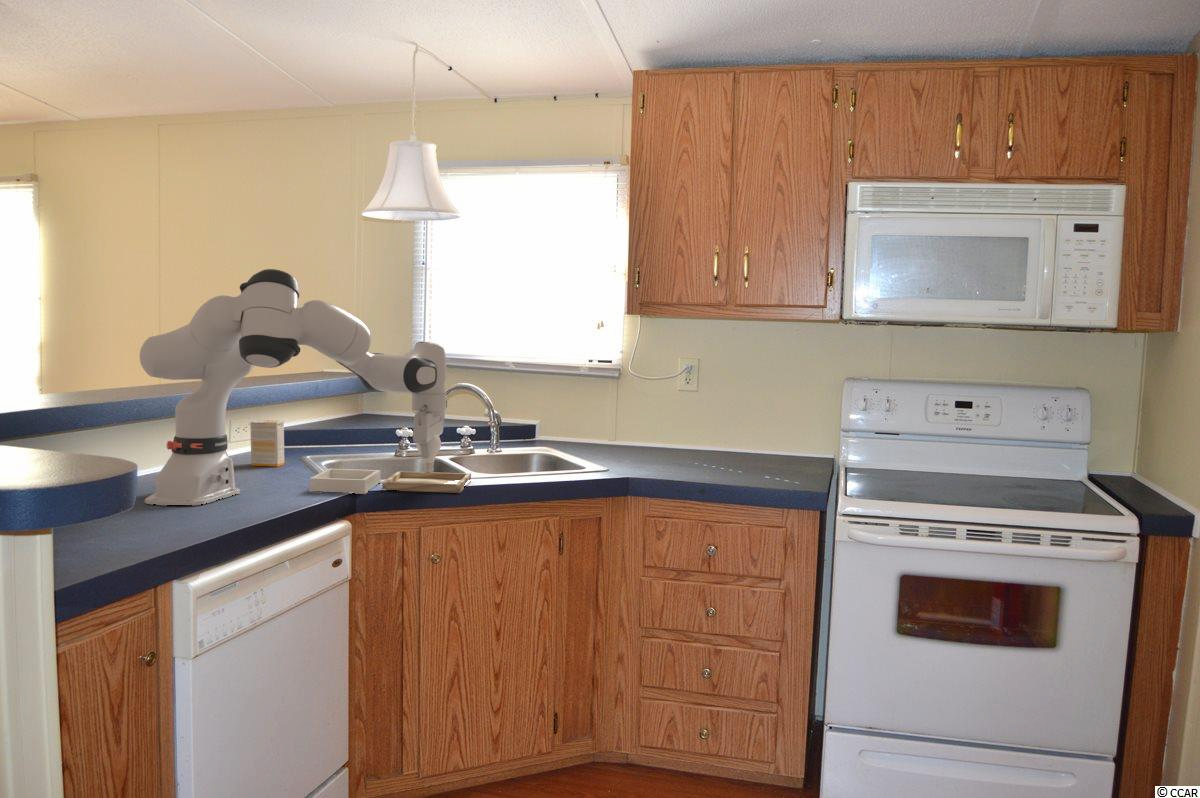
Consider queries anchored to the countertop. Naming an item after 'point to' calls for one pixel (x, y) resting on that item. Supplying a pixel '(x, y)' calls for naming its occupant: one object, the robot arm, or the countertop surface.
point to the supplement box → (267, 443)
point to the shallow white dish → (345, 480)
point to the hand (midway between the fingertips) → (428, 455)
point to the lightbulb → (430, 454)
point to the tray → (426, 482)
